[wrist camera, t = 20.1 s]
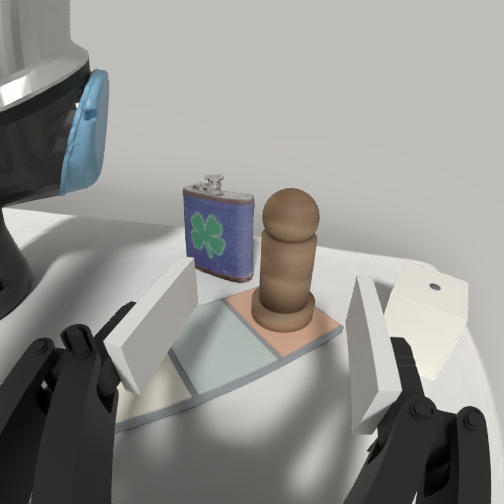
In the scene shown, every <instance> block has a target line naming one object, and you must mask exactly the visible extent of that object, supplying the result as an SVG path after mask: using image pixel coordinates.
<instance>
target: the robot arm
mask: <svg viewBox="0 0 504 504" xmlns="http://www.w3.org/2000/svg"><path fill="white" fill-rule="evenodd" d="M108 101H109V80H108V73H107V72H106V71H105V70H99V69H95V70H93V71H92V72H91V71H90V66H89V55H88V51H87V50H85V49H84V48H82V47H80V46H79V45H77V44H75V43H73V41H72V40H71V37H70V0H0V318H2V317H3V316H5V315H6V314H7V313H9V312H10V311H11V310H12V309H13V308H14V307H16V306H17V305H18V304H19V303H20V301H21V300H22V299H23V298H24V297H25V295H26V294H27V293H28V291H29V289H30V287H31V284H32V275H31V272H30V268H29V265H28V262H27V260H26V258H25V257H24V255H23V254H22V252H21V251H20V249H19V248H18V246H17V244H16V243H15V241H14V239H13V238H12V236H11V234H10V233H9V231H8V229H7V227H6V225H5V222H4V217H3V213H2V207H6V206H10V205H15V204H19V203H24V202H28V201H34V200H38V199H44V198H48V197H54V196H64V195H65V194H66V193H69V192H73V191H77V190H81V189H84V188H88V187H90V186H91V185H93V184H94V183H95V182H96V181H97V179H98V177H99V175H100V173H101V169H102V164H103V158H104V150H105V140H106V129H107V116H108ZM197 304H198V295H197V285H196V275H195V263H194V258H192V257H184V256H180V257H179V258H178V259H177V260H176V261H175V262H174V263H173V264H172V265H171V266H170V267H169V269H168V270H167V271H166V272H165V273H164V274H163V275H162V276H161V277H160V278H159V279H158V280H157V281H156V282H155V284H154V285H153V286H152V287H151V288H150V289H149V290H148V291H147V292H146V293H145V294H144V296H143V297H142V298H141V299H140V300H139V301H138V302H137V303H136V302H132V301H131V302H129V303H127V304H126V305H124V306H122V307H121V308H120V309H119V310H118V311H117V312H116V313H115V316H113V317H112V318H111V319H110V321H108V322H107V323H106V324H105V325H104V326H103V328H102V329H101V330H100V331H99V332H98V333H97V334H96V335H95V336H94V338H93V335H92V333H91V331H90V329H89V327H88V326H86V325H83V324H75V325H71V326H69V327H67V328H66V329H64V330H63V331H62V333H61V334H60V337H61V339H62V341H63V343H64V345H65V347H66V349H62V348H56V347H55V345H54V343H53V341H52V340H51V339H49V338H40V339H37V340H36V341H34V342H33V343H32V344H31V345H30V346H29V347H28V349H27V350H26V351H25V353H24V354H23V355H22V357H21V358H20V359H19V361H18V362H17V364H16V365H15V366H14V368H13V369H12V370H11V372H10V373H9V375H8V376H7V378H6V379H5V381H4V382H3V384H2V385H1V386H0V504H28V502H29V499H30V496H31V493H32V501H31V504H111V484H112V460H113V445H114V434H115V424H116V415H117V407H118V399H119V391H118V389H117V386H118V385H119V384H120V382H122V384H123V386H124V388H125V390H127V391H129V392H132V393H134V394H137V395H140V396H141V395H142V394H143V392H144V390H145V389H146V387H147V385H148V384H149V382H150V380H151V379H152V377H153V375H154V374H155V372H156V370H157V369H158V367H159V366H160V364H161V362H162V361H163V359H164V357H165V356H166V354H167V352H168V351H169V349H170V348H171V346H172V344H173V343H174V341H175V339H176V338H177V336H178V335H179V333H180V331H181V330H182V328H183V326H184V325H185V323H186V322H187V320H188V318H189V317H190V315H191V314H192V312H193V310H194V309H195V307H196V306H197ZM346 331H347V342H348V354H349V367H350V384H351V409H352V434H354V435H362V434H372V433H373V432H374V431H375V429H376V428H377V429H378V438H377V439H376V440H375V441H374V442H373V444H372V445H371V446H370V447H369V449H368V450H367V451H368V452H370V453H369V455H368V457H367V459H366V461H365V463H364V465H363V468H362V470H361V472H360V474H359V476H358V477H357V479H356V481H355V483H354V485H353V487H352V489H351V491H350V492H349V494H348V496H347V498H346V499H345V501H344V503H343V504H412V502H413V499H414V497H415V494H416V492H417V496H416V503H415V504H491V465H490V451H489V442H488V433H487V426H486V420H485V417H484V415H483V413H482V412H481V411H480V410H479V409H477V408H476V407H472V406H467V407H464V408H462V409H461V410H460V411H459V412H458V413H457V414H454V413H449V412H444V411H440V410H438V409H437V408H436V406H435V404H434V403H433V402H432V401H431V400H430V399H429V398H427V397H425V395H424V392H423V388H422V384H421V380H420V376H419V373H418V369H417V366H416V362H415V359H414V358H413V352H412V349H411V346H410V345H409V344H408V342H407V341H406V340H405V339H404V337H390V336H389V332H388V329H387V325H386V321H385V318H384V314H383V311H382V308H381V304H380V301H379V298H378V294H377V291H376V288H375V285H374V282H373V279H372V277H363V276H357V277H356V282H355V286H354V290H353V294H352V299H351V303H350V307H349V310H348V314H347V318H346ZM43 381H45V382H46V384H47V385H48V386H47V387H46V388H45V389H43V387H42V386H41V384H42V382H43Z"/></svg>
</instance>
